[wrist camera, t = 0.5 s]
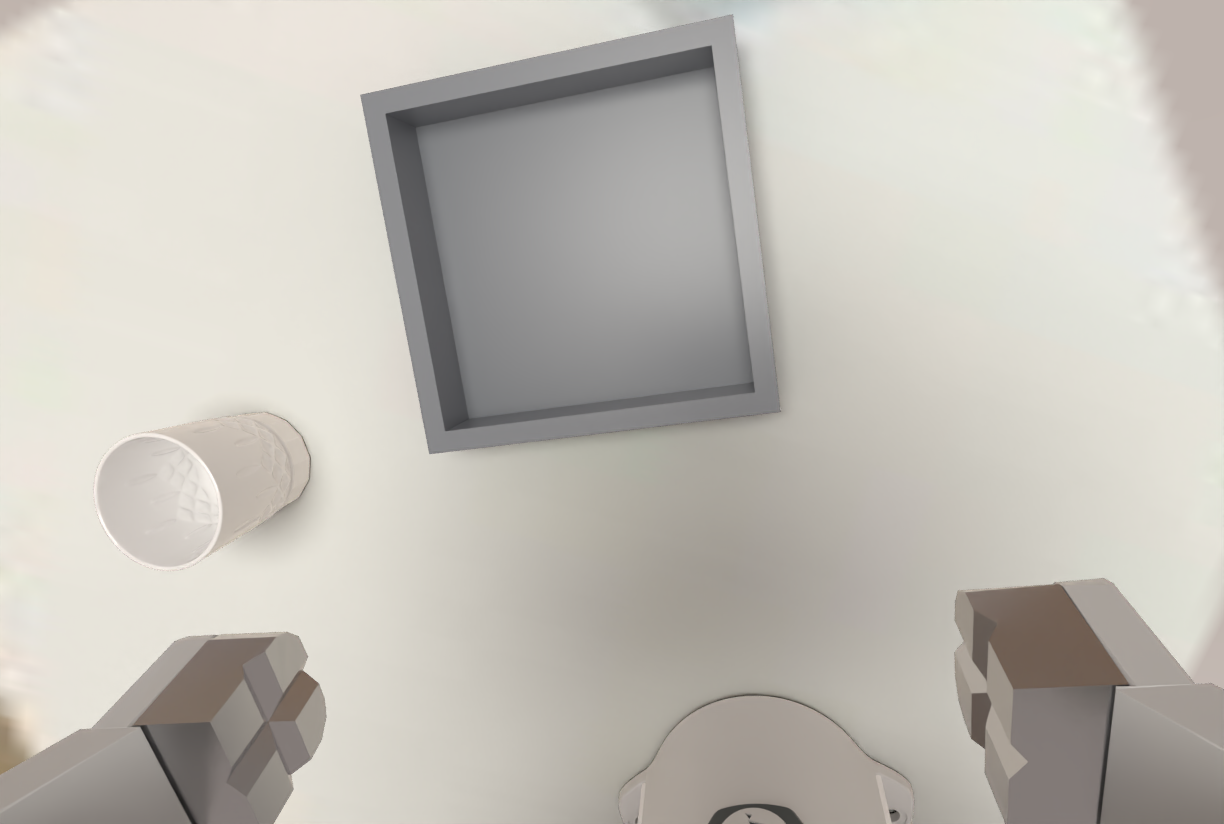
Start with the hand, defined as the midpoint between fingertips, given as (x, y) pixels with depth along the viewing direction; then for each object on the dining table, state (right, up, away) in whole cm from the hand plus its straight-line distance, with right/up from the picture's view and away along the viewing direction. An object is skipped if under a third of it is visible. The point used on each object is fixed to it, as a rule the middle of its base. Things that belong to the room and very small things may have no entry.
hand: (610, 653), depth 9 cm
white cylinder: (-23, 0, +42) cm, 49 cm away
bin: (-2, +12, +36) cm, 38 cm away
